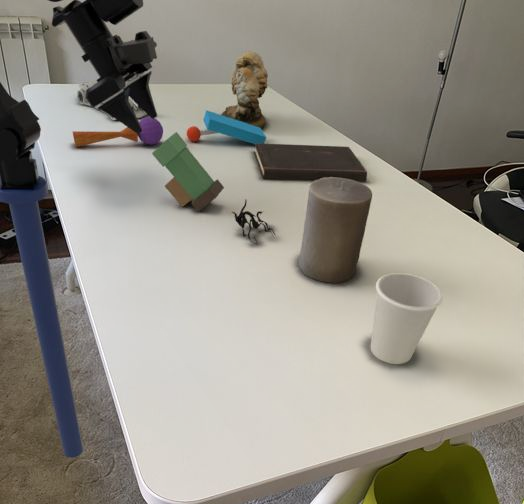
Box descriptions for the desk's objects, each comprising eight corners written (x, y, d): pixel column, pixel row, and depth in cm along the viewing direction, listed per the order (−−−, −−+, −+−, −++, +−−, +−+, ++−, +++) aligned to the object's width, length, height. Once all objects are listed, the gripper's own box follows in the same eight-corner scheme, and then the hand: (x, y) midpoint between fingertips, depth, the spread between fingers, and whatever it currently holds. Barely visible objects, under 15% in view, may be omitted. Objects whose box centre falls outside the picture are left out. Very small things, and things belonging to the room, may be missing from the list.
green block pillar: (153, 203, 105) (150, 136, 97) (163, 193, 109) (161, 128, 101) (215, 215, 103) (217, 148, 95) (223, 204, 107) (226, 139, 99)
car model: (115, 122, 138) (113, 101, 135) (68, 97, 151) (66, 77, 148) (152, 116, 145) (152, 96, 142) (104, 92, 158) (103, 73, 155)
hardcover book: (254, 152, 130) (254, 143, 129) (347, 156, 134) (349, 146, 132) (263, 179, 118) (264, 169, 117) (365, 182, 122) (367, 172, 120)
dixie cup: (359, 364, 73) (375, 301, 66) (362, 327, 79) (377, 267, 73) (423, 375, 72) (445, 313, 66) (420, 338, 78) (440, 278, 72)
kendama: (70, 123, 124) (158, 114, 129) (76, 151, 127) (162, 141, 132) (71, 126, 119) (163, 117, 124) (78, 155, 122) (166, 144, 127)
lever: (251, 154, 142) (183, 133, 135) (260, 127, 138) (191, 105, 131) (256, 164, 137) (186, 143, 130) (266, 137, 133) (194, 114, 126)
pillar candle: (367, 276, 90) (388, 189, 81) (319, 288, 86) (335, 198, 77) (333, 249, 97) (349, 165, 87) (286, 259, 92) (297, 172, 83)
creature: (279, 235, 101) (241, 216, 102) (288, 210, 98) (248, 191, 98) (263, 253, 95) (223, 233, 96) (273, 227, 92) (231, 207, 93)
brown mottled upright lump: (218, 110, 154) (220, 41, 143) (259, 112, 156) (265, 44, 145) (224, 131, 140) (227, 57, 130) (269, 133, 142) (276, 60, 132)
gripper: (112, 22, 83) (169, 119, 91) (149, 6, 98) (195, 91, 106) (59, 59, 88) (117, 148, 95) (101, 39, 102) (149, 117, 110)
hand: (147, 124), depth 102 cm, fingers open, 9 cm apart
